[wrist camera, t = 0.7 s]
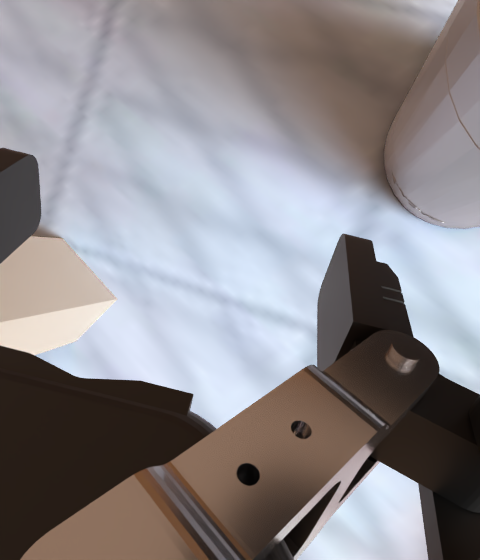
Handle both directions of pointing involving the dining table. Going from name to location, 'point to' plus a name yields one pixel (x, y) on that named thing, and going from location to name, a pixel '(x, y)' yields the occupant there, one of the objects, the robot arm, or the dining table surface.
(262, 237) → the dining table surface
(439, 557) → the robot arm
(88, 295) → the cream block
